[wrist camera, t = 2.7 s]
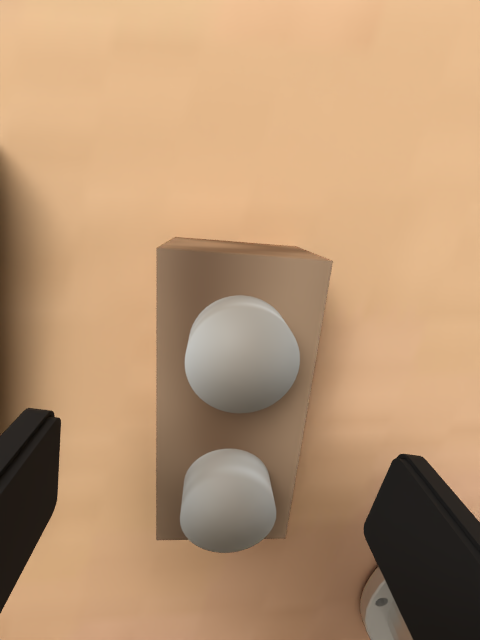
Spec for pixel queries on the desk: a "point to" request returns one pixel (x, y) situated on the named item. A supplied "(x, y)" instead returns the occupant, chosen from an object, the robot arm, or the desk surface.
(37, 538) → the robot arm
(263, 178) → the desk surface
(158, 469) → the brown block with knobs
